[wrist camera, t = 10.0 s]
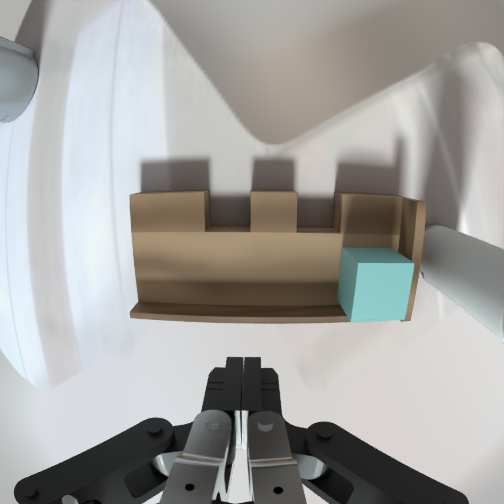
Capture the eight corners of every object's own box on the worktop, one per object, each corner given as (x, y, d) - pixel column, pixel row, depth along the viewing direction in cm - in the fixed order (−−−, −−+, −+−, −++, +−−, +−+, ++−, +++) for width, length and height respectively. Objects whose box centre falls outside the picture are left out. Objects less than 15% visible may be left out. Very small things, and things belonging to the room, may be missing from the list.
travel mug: (405, 282, 32) (519, 388, 12) (411, 223, 30) (553, 288, 11) (448, 279, 31) (565, 366, 12) (455, 224, 30) (592, 280, 10)
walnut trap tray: (140, 192, 30) (115, 198, 24) (398, 195, 29) (426, 202, 23) (148, 295, 32) (128, 320, 27) (387, 296, 32) (410, 320, 26)
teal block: (341, 247, 28) (358, 262, 23) (391, 248, 28) (414, 263, 23) (336, 298, 29) (350, 322, 24) (384, 297, 29) (404, 319, 24)
